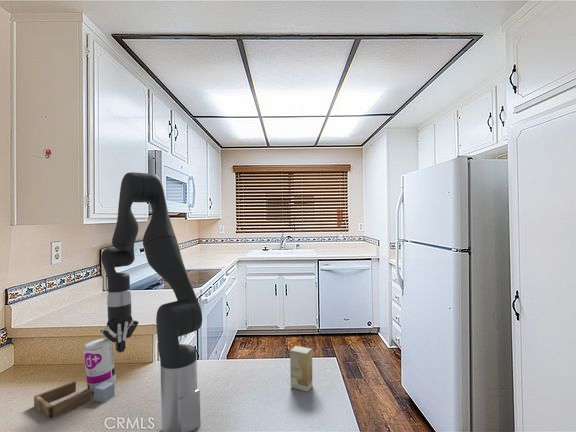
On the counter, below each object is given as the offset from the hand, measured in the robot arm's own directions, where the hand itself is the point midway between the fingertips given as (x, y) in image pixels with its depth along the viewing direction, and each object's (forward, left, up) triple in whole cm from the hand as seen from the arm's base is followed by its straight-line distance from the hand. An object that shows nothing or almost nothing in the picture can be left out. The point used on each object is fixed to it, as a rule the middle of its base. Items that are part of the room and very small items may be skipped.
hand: (120, 351), depth 113 cm
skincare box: (-58, -28, -10) cm, 65 cm away
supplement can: (0, +7, -9) cm, 12 cm away
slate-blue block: (-8, +10, -10) cm, 16 cm away
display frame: (0, +18, -10) cm, 20 cm away
